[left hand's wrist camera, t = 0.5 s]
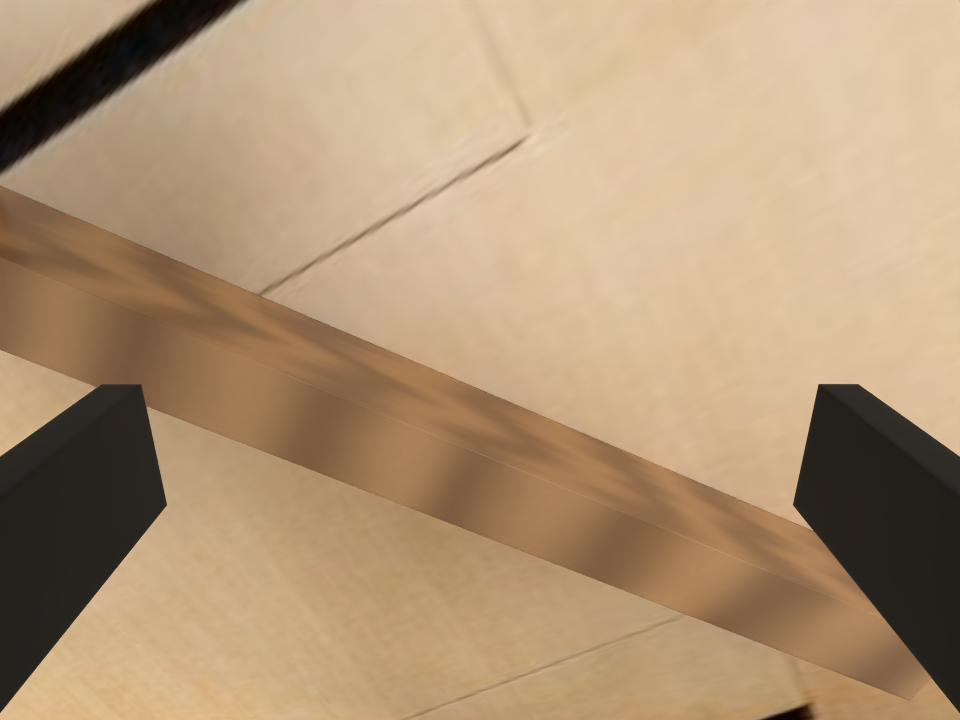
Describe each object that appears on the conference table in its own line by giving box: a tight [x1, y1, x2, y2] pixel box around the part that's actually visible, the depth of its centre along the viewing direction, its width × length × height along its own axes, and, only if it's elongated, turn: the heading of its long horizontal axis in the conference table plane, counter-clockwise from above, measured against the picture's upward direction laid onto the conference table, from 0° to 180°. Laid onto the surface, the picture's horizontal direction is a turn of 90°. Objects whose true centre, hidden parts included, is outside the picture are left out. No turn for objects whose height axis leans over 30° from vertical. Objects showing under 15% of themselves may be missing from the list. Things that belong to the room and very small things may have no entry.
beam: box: [0, 186, 931, 700], centre depth 37 cm, size 80×5×8 cm, turn 65°
